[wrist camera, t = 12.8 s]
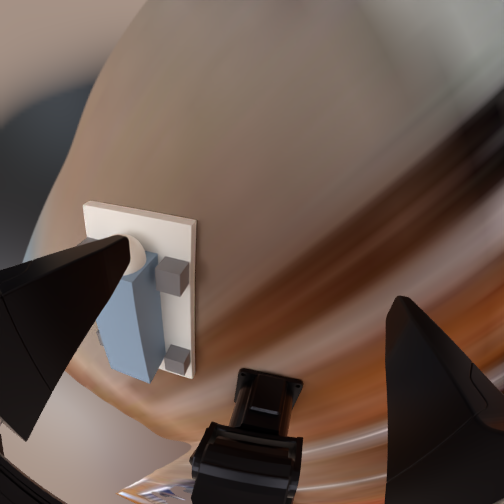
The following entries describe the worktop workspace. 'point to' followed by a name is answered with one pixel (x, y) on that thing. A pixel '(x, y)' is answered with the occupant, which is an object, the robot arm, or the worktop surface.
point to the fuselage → (134, 318)
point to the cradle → (159, 270)
